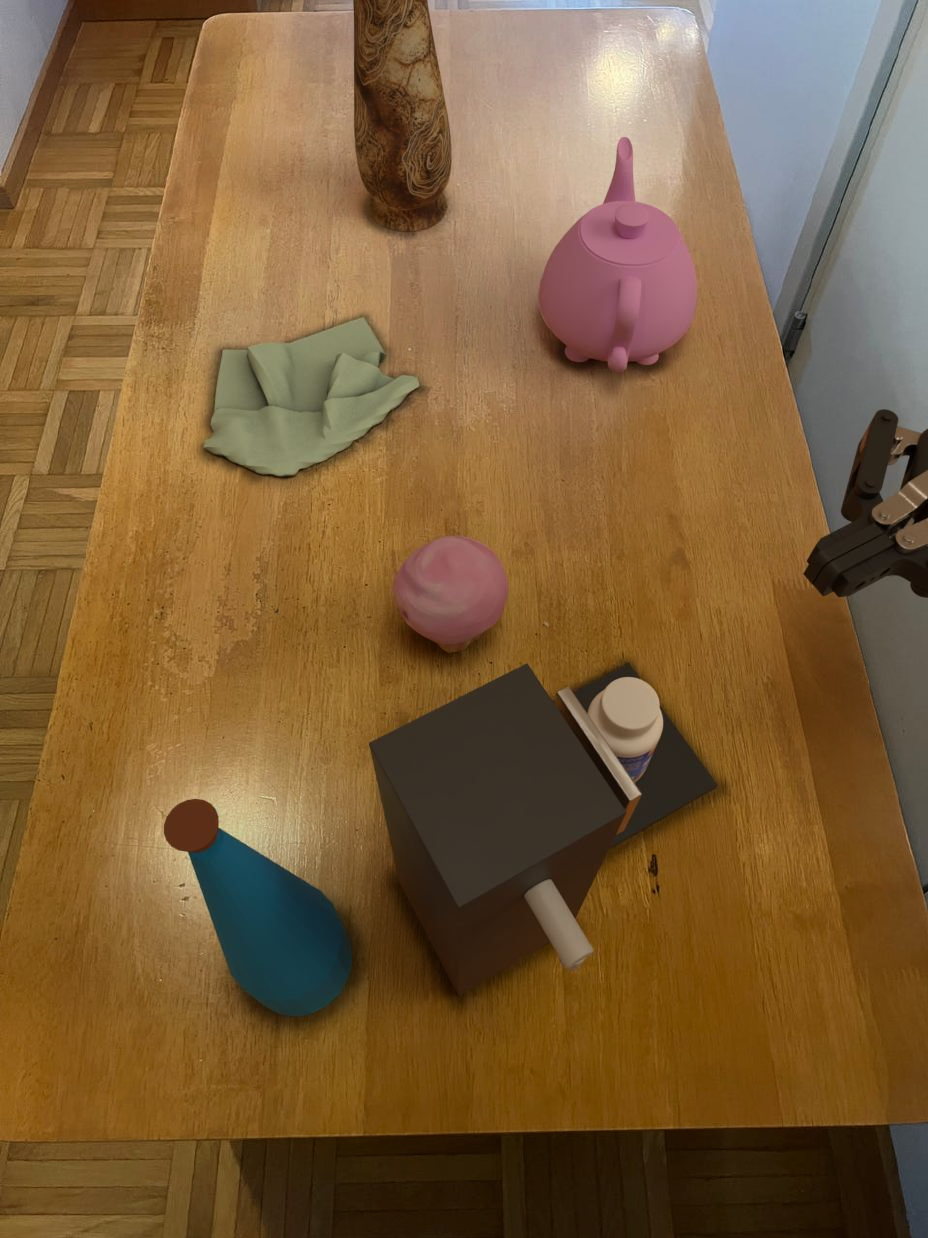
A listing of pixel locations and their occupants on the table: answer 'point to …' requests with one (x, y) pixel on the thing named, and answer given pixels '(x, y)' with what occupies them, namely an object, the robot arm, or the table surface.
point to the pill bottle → (629, 722)
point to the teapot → (619, 279)
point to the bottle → (264, 917)
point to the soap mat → (657, 767)
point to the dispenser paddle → (599, 752)
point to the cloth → (302, 399)
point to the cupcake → (451, 591)
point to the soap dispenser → (495, 826)
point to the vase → (400, 114)
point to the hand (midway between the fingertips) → (818, 576)
